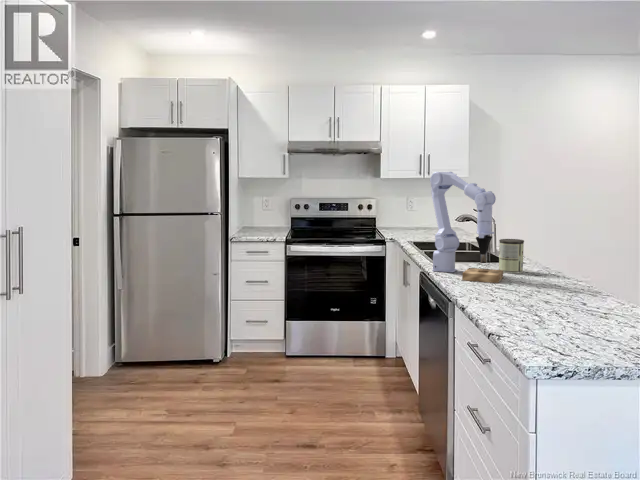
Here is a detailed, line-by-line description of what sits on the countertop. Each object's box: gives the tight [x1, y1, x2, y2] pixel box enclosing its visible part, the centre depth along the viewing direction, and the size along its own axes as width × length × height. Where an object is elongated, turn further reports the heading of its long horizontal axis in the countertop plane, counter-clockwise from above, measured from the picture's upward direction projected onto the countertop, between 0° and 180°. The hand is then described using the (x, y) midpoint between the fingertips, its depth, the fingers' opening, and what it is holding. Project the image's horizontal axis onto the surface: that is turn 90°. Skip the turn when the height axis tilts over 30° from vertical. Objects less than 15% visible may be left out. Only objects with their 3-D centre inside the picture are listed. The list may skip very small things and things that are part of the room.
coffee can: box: [498, 238, 525, 275], centre depth 245 cm, size 10×10×14 cm
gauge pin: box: [479, 251, 488, 264], centre depth 230 cm, size 2×2×9 cm
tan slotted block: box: [461, 267, 504, 284], centre depth 229 cm, size 14×14×3 cm
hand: (483, 253), depth 230 cm, fingers closed on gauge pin, 2 cm apart
